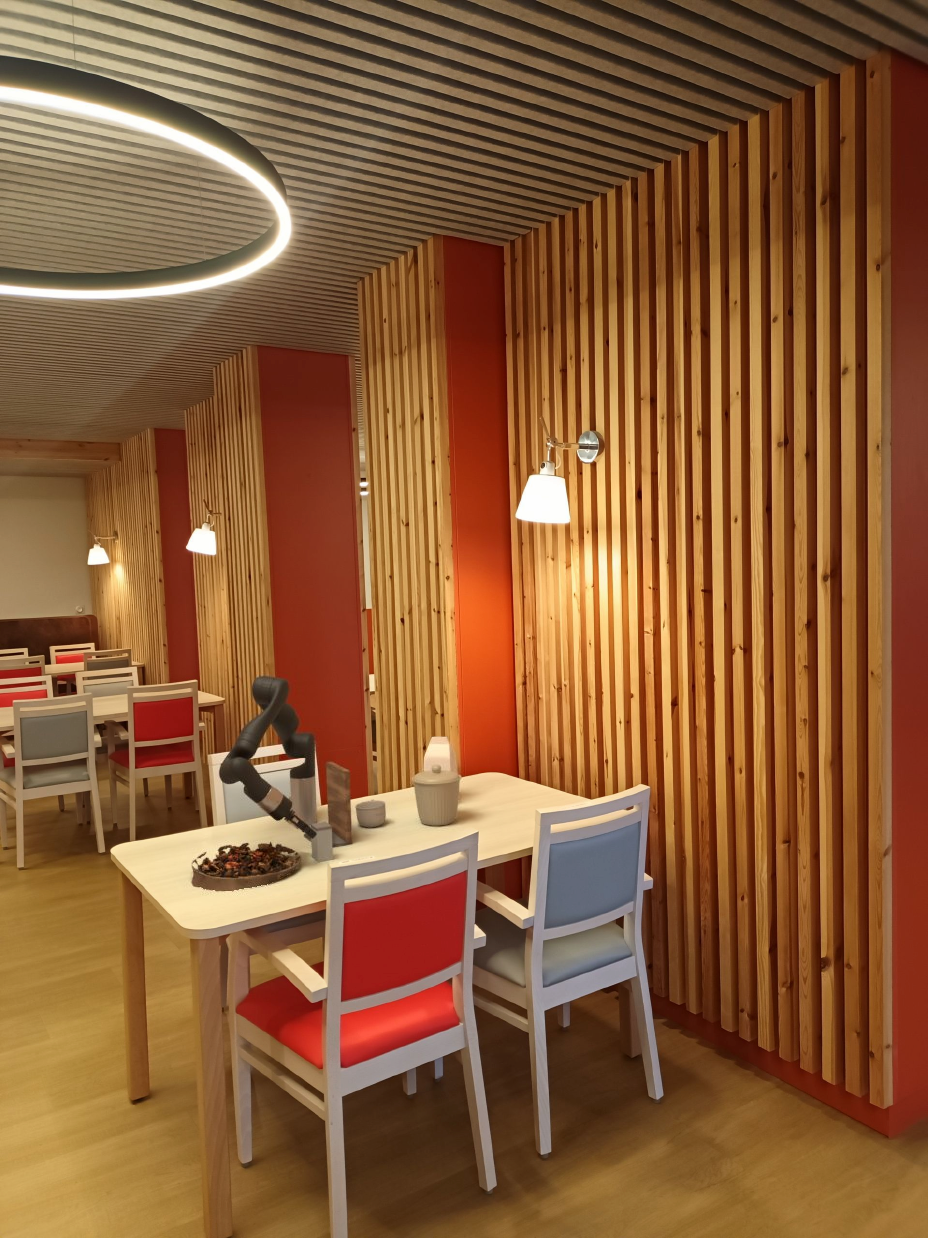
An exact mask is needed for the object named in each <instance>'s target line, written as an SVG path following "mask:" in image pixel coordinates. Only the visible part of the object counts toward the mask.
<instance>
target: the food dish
mask: <svg viewBox="0 0 928 1238" xmlns="http://www.w3.org/2000/svg"><path fill="white" fill-rule="evenodd" d="M249 845H250V842H244V843H242V844H241V845H239V846H237V845H232V844H227V845H223V846H220V847H218V849H217V851H218V854H216V853H215V858H213V860H211V859H210V858H209V857H205V858H203V859H202V863H200V864H199V863H198V861H197V859H201V858H202V857H204V856H205V855H206V854H207V851H204V852H203V853H201V854H200V855H198V856H197V858H195V859H193V860H192V862H191V869H192V871H193V875H192V880H191V882H190V883H191V885H192V887H194V888H200V887H201V889H202V888H203V890H205V889H206V890H205V891H213V890H215V891H214V892H225V891H232V892H235V891H234V890H237V891H240V890H239V889H242V890H245V889H244V888H250V889H253V888H252V887H255V888H258V887H257V886H261V885H266V886H267V884H268V885H269V884H273V883H272V882H274V883H276V882H275V881H277V882H278V881H279V880H281V879H283V877H284V878H286V877H287V876H288V875H287V874H289V873H291V874H293V872H294V870H295V869H296V868H297V867H298V865H299V864H300V863H301V860H302V858H301V855H298V854H299V852H297V850H294V849H293V848H290V847H287V846H285V845H282V844H281V843H277V844H275V846H274V845H273V844H272V841H270V842H269V843H267V842H266V843H262V842H261V843H258V844H257V848H255V850H254V849H253V850H251V848H250V847H249ZM228 848H229V850H228V851H227V853H226V851H225V850H227V849H228ZM284 853H287V855H285V854H284ZM294 853H295V854H294ZM289 854H294V855H295V856H297V857H296V858H295V862H294V861H292V860H290V859H289V858H290V857H289ZM193 863H195V864H196V865H197V868H196V867H194V865H193ZM286 875H287V876H286ZM289 875H290V874H289ZM285 876H286V877H285ZM280 878H281V879H280ZM278 879H279V880H278ZM261 887H262V886H261Z"/></svg>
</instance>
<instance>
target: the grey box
mask: <svg viewBox="0 0 928 1238" xmlns="http://www.w3.org/2000/svg"><path fill="white" fill-rule="evenodd" d="M310 827H311V829H312V830H314V831H315V832H316V833H317V835H316V836H315V837H314V838H313V839H312V838H311V846H310V847H311V859H313V860H314V861H315V862H316V863H323V862H330V861H333V860H334V854H333V852H334V851H333V850H334V849H333V848H332V826H331V825H330V824H328V822H327V821H320V822H316V823H313V824H310Z"/></svg>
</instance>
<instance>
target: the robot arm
mask: <svg viewBox="0 0 928 1238" xmlns="http://www.w3.org/2000/svg"><path fill="white" fill-rule="evenodd" d="M289 683H290V682H289V681H288V680H287V679H285V678H282V677H281V678H280V677H275V676H270V675H260V676H258V677H256V678H255V679H254V680H253V683H252V686H251V695H252V698H253V700H254V702H255V703H256V705H258V706H259V708H260V709H261V710H262V711H261V713H259V714H257V715H256V716H255V717H254V718H253V719H251V720H250V721H249V722H247V723H246V724H245V725H244V726H243V727H242V729H241V731H240V733H239V735H238V736H237V739H236V741H235V742H234V744H233V747H232V748H231V750H230V751H229V752H228V754H227V755H226V756H225V758H224V759H223V760H222V763H220V766H219V770H218V776H219V779H220V781H221V782H222V783H224V784H226V785H233V784H235V783H236V784H237V783H238V782H240V783H242V784H243V785H244V787H243V793H244V795H245V796H247V798H249V799H250V800H251V801H252V802H254V803H255V804H256V805H257V806H258V807H259V808H260V809H261V810H263V812H265V813H266V814H267V815H269V816H270V817H271V818H272V819H273V820H275V821H277V822H279V821H281V820H282V819H283V820H284V821H285V822H286V823H288V825H291V826H293V827H294V828H295V829H296V830H300V831H301V832H302V833H303V834H305V833H306V834H307V835H308V836H309V837H311V838H312V839H313V838H314V837H315V836H316V835H317V833H316V832H315V831H314V830H312V829H311V828H310V827H311V824H313V823H318V811H317V810H318V809H317V808H318V807H317V785H316V782H317V781H316V738H315V735H314V733H312V732H297V730H298V729H299V725H300V719H299V718H300V717H299V715H298V714H297V712H296V710H295V709H294V707H293V706H292V705H291V704H289V703H288V702H287V700H288V697H289V694H290V684H289ZM270 726H272V727H273V729H274V731H275V733H276V734H277V737H278V738H279V740H280V744H281V746H282V748H283V750H284V753H285V755H286V756H287V757H288V758H290V759H304V762H303V763H301V764H300V765H297V766H294V767H292V768H291V769H290V770H289V786H290V789H289V790H290V796H289V797H287V796H286V795H285V794H284V793H282V792H281V791H280V790H278V789H277V788H276V787H274V786H273V785H271V784H270V783H269V782H268V781H266V780H265V779H264V778H263V777H262V776H261V775H260V773H259V772H258V770H257V769H256V767H255V766H254V765H253V764H252V762H251V761H250V760H251V759H252V758H253V757H254V756H255V755H256V753H257V751H258V749H259V747H260V745H261V742H262V740H263V738H264V736H265V735H266V733H267V731H268V729H269V728H270Z"/></svg>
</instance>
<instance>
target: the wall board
mask: <svg viewBox="0 0 928 1238" xmlns="http://www.w3.org/2000/svg"><path fill="white" fill-rule="evenodd" d="M325 769H326V793H327V795H326V796H327V797H326V798H327V821H328V822H327V823H328V824H330V825H331V826H332V849H333V848H338V847H344V846H350V845H353V834H352V833H353V831H352V829H353V828H352V827H353V826H352V807H351V806H352V805H351V804H352V803H351V801H352V799H351V779H350V778H351V777H350V776H351V774H350V770H349V769H346V768H344V767H342V766H341V765H339V764H338V763H335V762H333V761H327V762H325ZM310 828H311V826H310ZM303 837H304V838H305V839H307V840H308V841H310V842H311V837H309V836H308V835H307V834H306V833H303Z"/></svg>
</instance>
